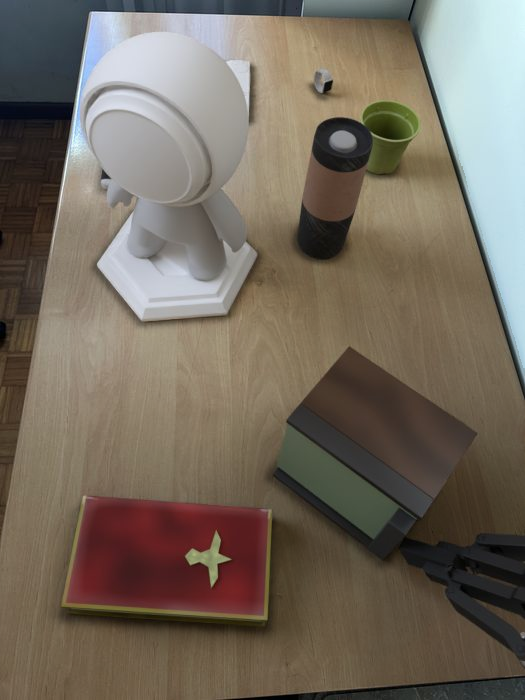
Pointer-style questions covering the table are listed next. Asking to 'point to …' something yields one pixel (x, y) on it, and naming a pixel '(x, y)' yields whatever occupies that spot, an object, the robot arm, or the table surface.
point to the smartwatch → (327, 80)
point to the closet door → (345, 492)
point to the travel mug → (333, 185)
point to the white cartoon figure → (170, 173)
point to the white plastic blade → (242, 76)
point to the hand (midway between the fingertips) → (406, 550)
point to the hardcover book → (170, 561)
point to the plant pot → (389, 133)
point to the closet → (379, 437)
